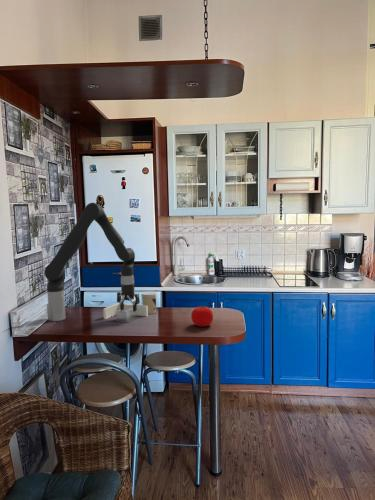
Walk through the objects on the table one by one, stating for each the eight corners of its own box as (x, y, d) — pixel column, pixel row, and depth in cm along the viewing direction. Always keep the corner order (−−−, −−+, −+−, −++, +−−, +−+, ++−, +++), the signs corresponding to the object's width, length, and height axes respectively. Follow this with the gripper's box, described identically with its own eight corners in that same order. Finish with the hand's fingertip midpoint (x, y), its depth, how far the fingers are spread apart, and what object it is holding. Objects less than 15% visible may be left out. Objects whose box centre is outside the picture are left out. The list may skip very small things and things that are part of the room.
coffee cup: (156, 314, 225) (155, 294, 224) (141, 314, 225) (140, 295, 224) (158, 310, 234) (157, 291, 233) (143, 310, 235) (142, 291, 233)
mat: (113, 320, 214) (113, 320, 214) (125, 315, 224) (125, 314, 224) (128, 322, 209) (128, 322, 209) (139, 317, 220) (139, 316, 220)
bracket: (126, 320, 213) (126, 311, 212) (116, 319, 216) (115, 310, 215) (136, 315, 222) (135, 307, 221) (126, 314, 225) (125, 306, 224)
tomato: (214, 328, 195) (214, 308, 194) (192, 329, 194) (191, 309, 193) (211, 321, 207) (211, 303, 206) (190, 322, 206) (190, 304, 205)
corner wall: (103, 318, 219) (103, 308, 218) (118, 312, 232) (118, 302, 231) (134, 322, 209) (133, 312, 209) (148, 315, 222) (147, 305, 222)
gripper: (141, 282, 215) (142, 310, 217) (121, 281, 221) (122, 307, 223) (134, 285, 208) (135, 313, 210) (113, 283, 215) (114, 310, 216)
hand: (128, 310), depth 217 cm, fingers open, 8 cm apart
